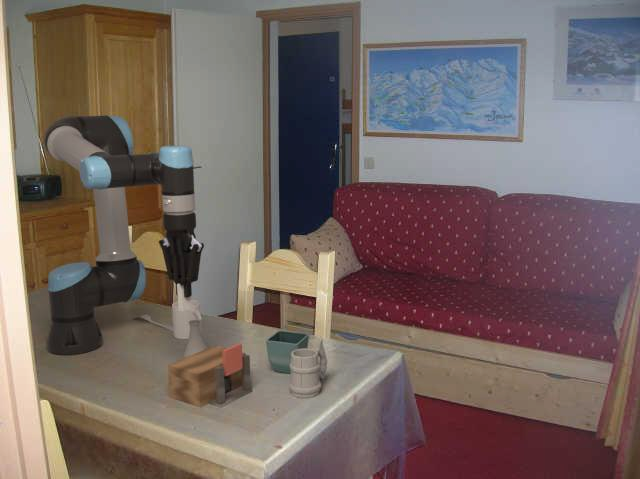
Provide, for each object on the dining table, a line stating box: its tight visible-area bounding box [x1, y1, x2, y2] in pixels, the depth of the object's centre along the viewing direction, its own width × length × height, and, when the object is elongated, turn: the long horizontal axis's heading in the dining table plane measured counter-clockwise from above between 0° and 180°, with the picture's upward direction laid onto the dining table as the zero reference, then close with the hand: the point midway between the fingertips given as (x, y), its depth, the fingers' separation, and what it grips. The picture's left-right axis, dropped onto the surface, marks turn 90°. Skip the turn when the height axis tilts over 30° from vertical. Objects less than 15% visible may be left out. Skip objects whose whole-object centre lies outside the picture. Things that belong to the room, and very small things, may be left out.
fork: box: [134, 314, 173, 332], centre depth 219 cm, size 3×21×3 cm, turn 51°
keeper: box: [222, 342, 243, 376], centre depth 161 cm, size 1×6×6 cm, turn 146°
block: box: [167, 345, 253, 408], centre depth 165 cm, size 14×16×9 cm
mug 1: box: [171, 299, 203, 340], centre depth 205 cm, size 8×12×10 cm, turn 41°
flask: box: [182, 320, 208, 359], centre depth 189 cm, size 7×7×10 cm
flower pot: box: [265, 330, 310, 375], centre depth 179 cm, size 9×9×9 cm
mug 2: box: [288, 336, 328, 399], centre depth 166 cm, size 8×12×12 cm, turn 141°
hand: (184, 309), depth 167 cm, fingers closed
